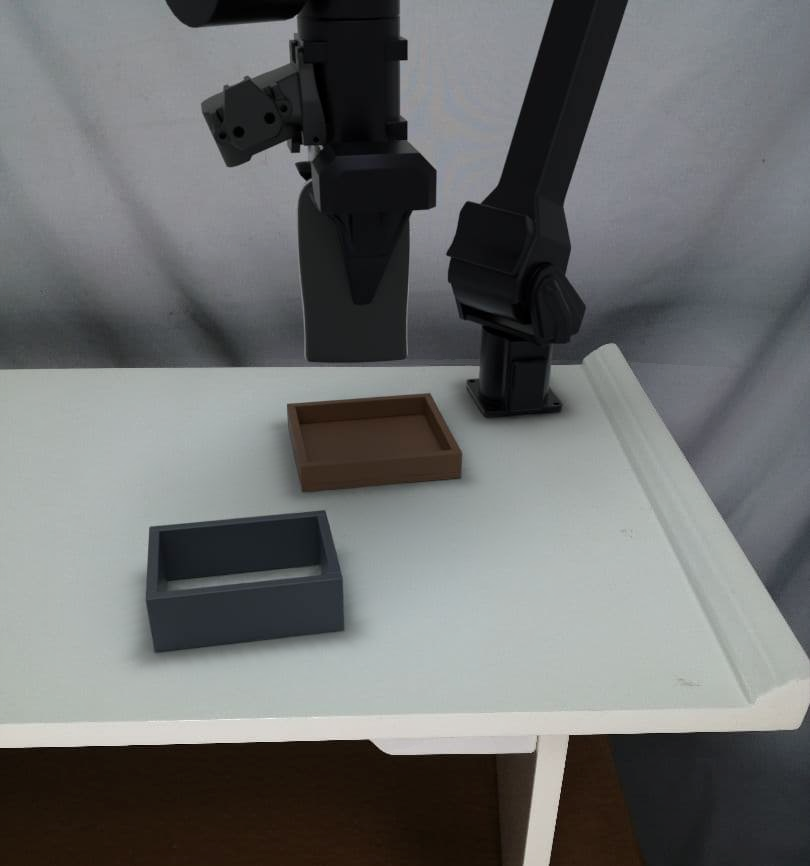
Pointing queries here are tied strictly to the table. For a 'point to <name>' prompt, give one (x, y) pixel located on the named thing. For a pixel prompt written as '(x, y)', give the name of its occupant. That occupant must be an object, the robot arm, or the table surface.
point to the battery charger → (347, 295)
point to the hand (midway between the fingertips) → (356, 292)
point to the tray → (371, 442)
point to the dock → (246, 602)
